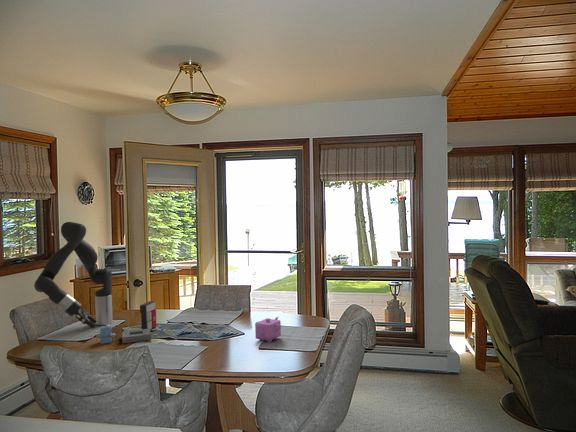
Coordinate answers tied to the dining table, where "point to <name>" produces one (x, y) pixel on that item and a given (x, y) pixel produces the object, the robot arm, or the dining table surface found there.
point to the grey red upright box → (148, 315)
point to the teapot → (268, 329)
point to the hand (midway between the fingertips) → (94, 324)
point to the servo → (105, 334)
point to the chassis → (136, 335)
